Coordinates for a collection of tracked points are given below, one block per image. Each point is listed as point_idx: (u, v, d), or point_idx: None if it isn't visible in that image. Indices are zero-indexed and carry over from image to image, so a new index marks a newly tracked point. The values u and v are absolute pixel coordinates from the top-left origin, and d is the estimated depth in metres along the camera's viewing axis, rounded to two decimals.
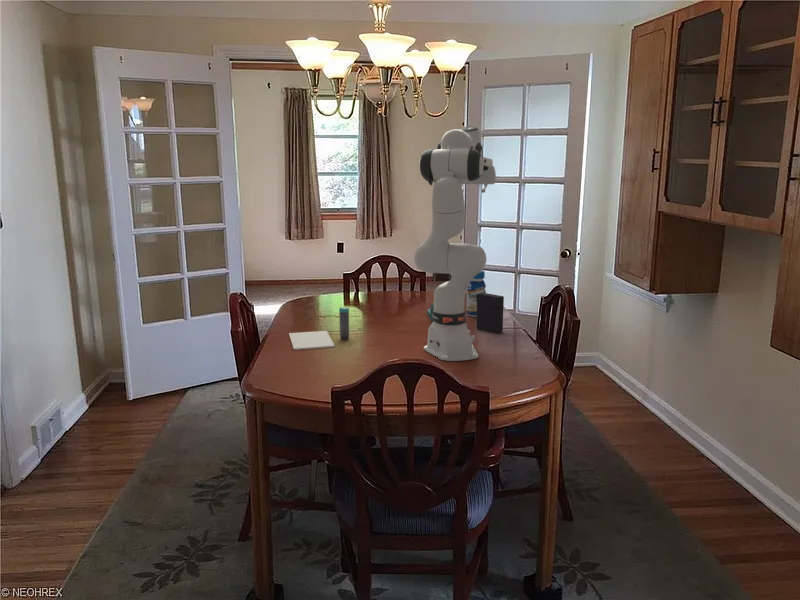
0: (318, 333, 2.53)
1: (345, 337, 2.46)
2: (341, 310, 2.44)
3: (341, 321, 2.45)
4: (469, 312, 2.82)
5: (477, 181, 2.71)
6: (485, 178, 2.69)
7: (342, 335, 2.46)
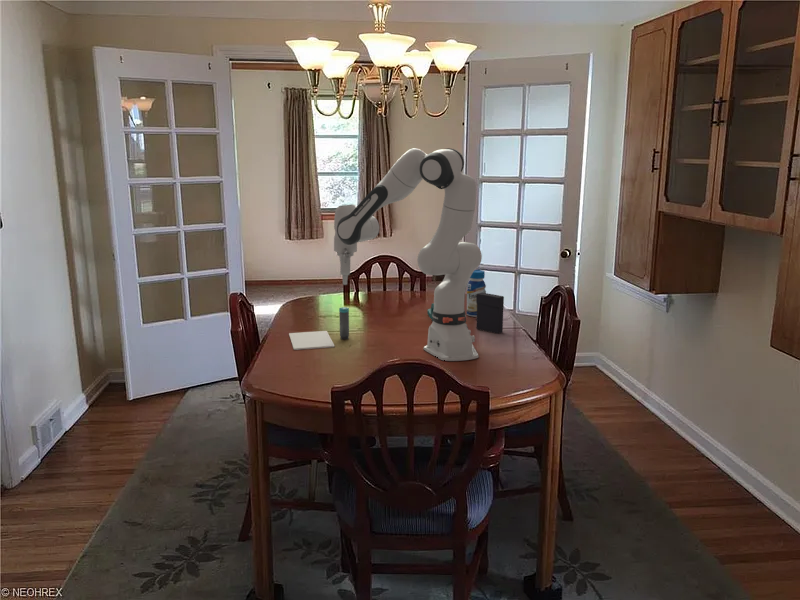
0: (318, 333, 2.53)
1: (345, 337, 2.46)
2: (341, 310, 2.44)
3: (341, 321, 2.45)
4: (469, 312, 2.82)
5: None
6: None
7: (342, 335, 2.46)
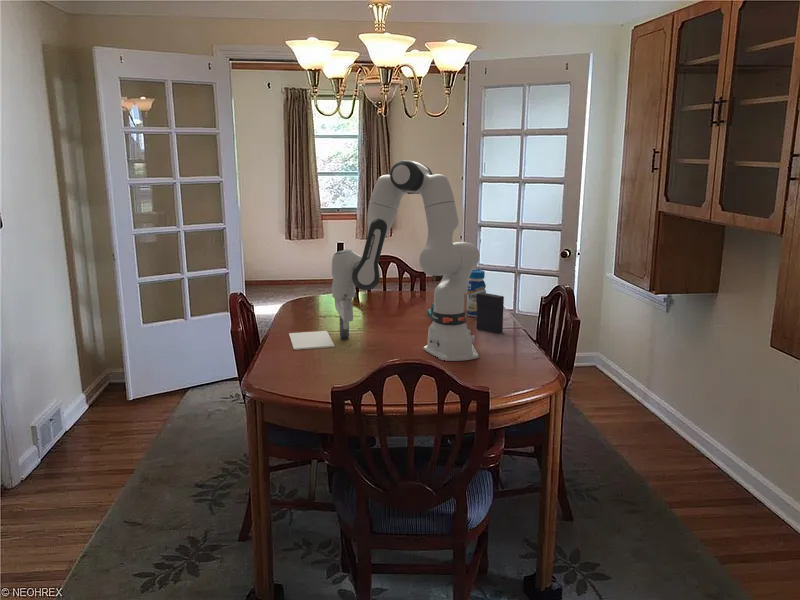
0: (318, 333, 2.53)
1: (345, 337, 2.46)
2: None
3: (341, 321, 2.45)
4: (469, 312, 2.82)
5: None
6: None
7: (342, 335, 2.46)
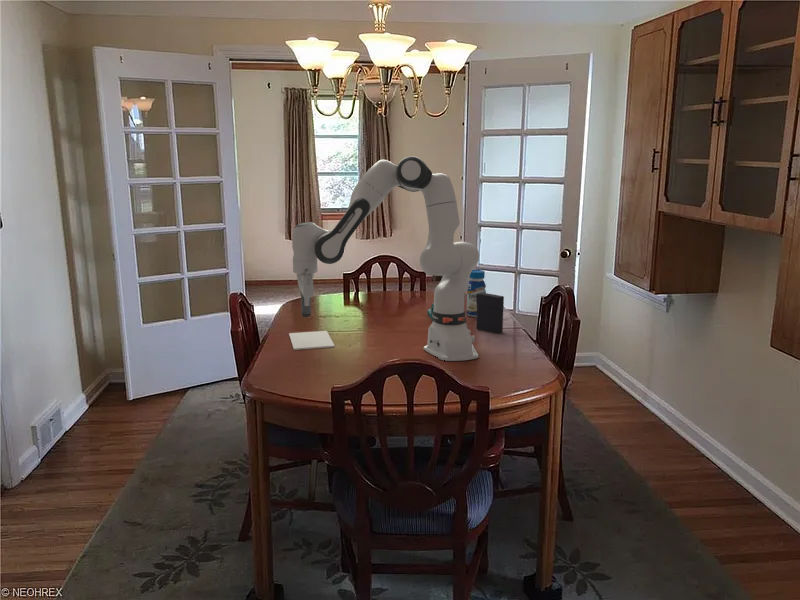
0: (318, 333, 2.53)
1: (306, 314, 2.35)
2: None
3: (302, 297, 2.33)
4: (469, 312, 2.82)
5: None
6: None
7: (303, 312, 2.34)
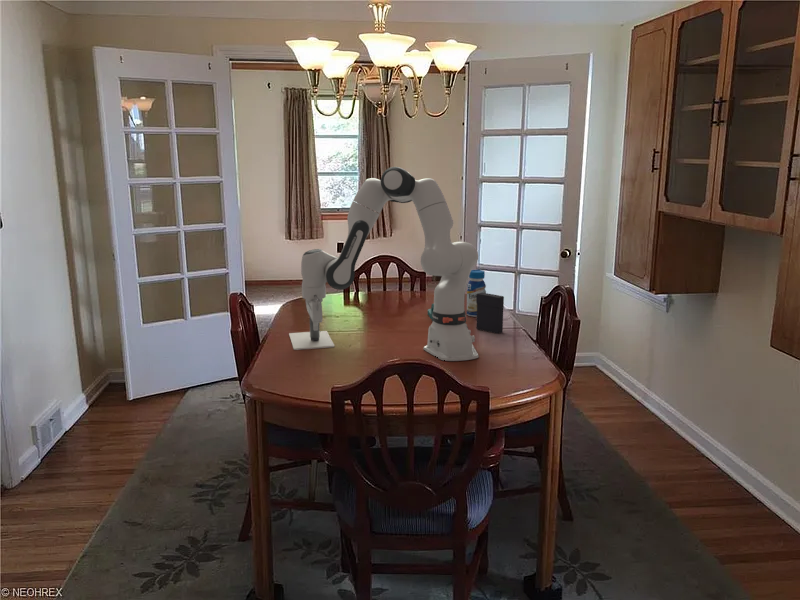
0: None
1: (315, 338, 2.41)
2: None
3: (311, 322, 2.40)
4: (469, 312, 2.82)
5: None
6: None
7: (312, 336, 2.41)
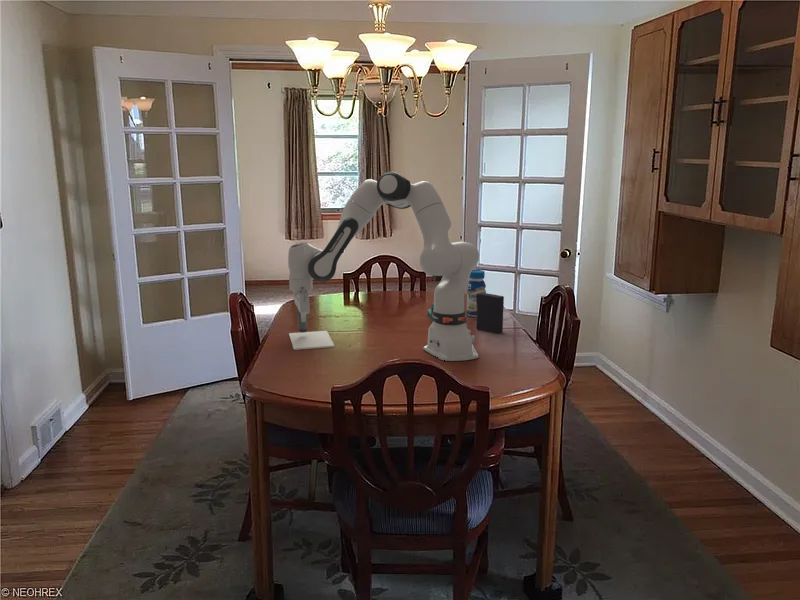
0: (318, 333, 2.53)
1: (303, 330, 2.46)
2: None
3: (299, 314, 2.45)
4: (469, 312, 2.82)
5: None
6: None
7: (300, 328, 2.46)
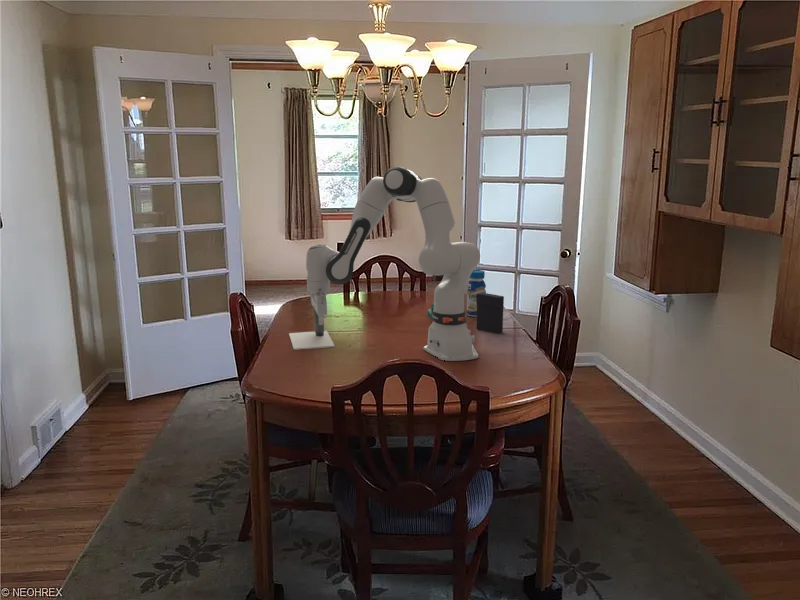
0: None
1: (320, 334, 2.49)
2: None
3: (316, 318, 2.47)
4: (469, 312, 2.82)
5: (322, 304, 2.51)
6: None
7: (317, 332, 2.48)
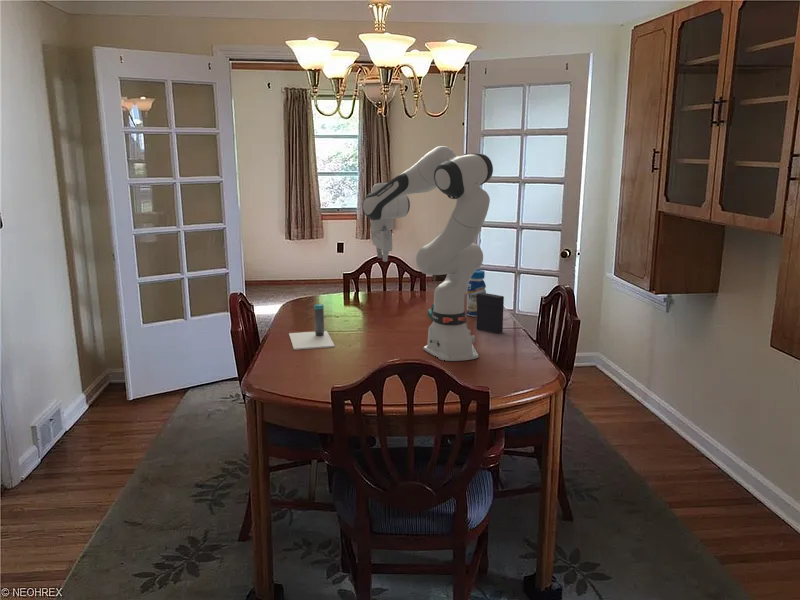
0: None
1: (320, 334, 2.49)
2: (316, 307, 2.46)
3: (316, 318, 2.47)
4: (469, 312, 2.82)
5: None
6: None
7: (317, 332, 2.48)
